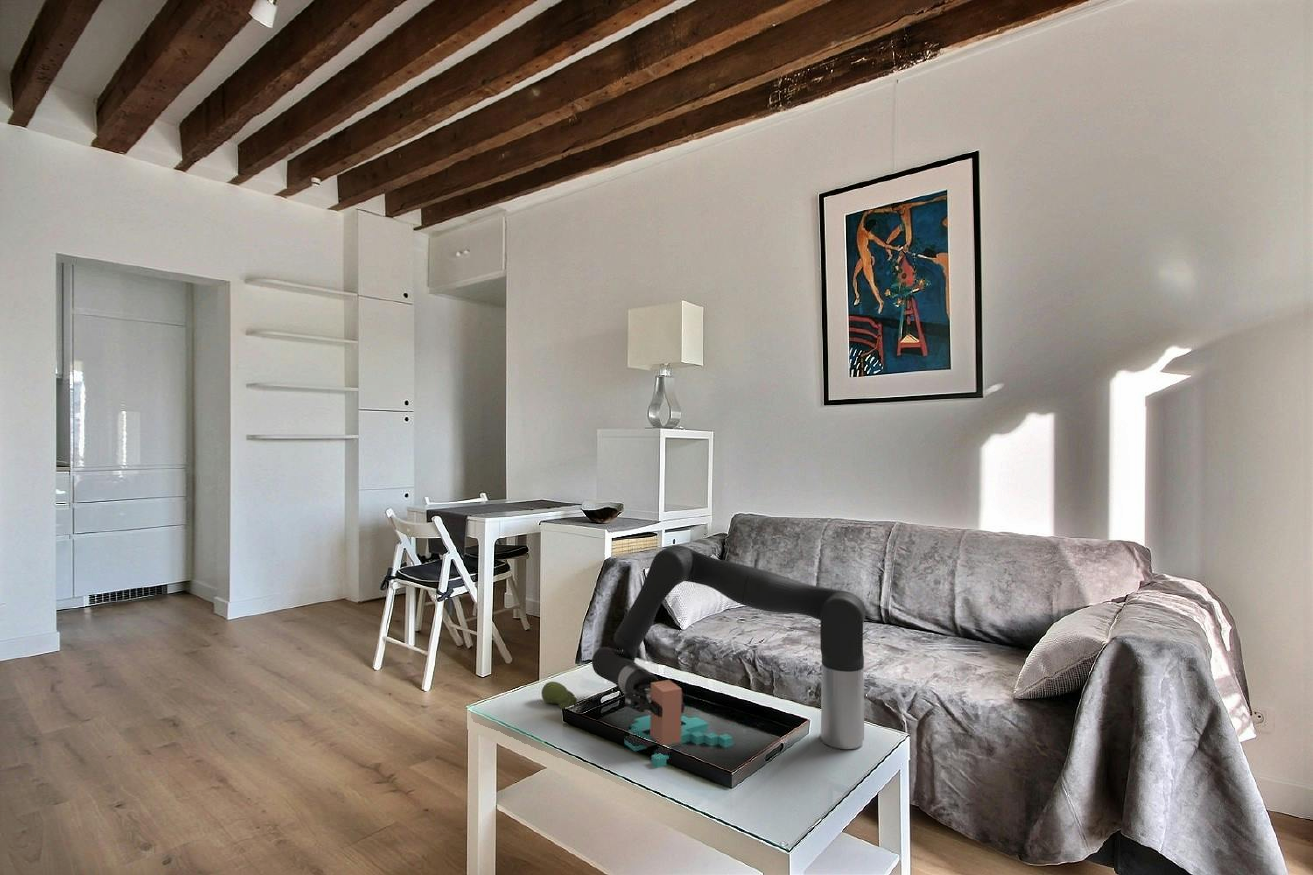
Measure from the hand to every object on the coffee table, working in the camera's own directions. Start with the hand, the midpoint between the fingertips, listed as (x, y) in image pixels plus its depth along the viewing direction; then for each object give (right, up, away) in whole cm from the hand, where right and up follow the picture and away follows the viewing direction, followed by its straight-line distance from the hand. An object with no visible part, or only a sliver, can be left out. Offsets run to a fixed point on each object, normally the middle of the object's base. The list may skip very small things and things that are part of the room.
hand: (671, 710), depth 150 cm
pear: (-28, -9, +27) cm, 40 cm away
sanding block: (-1, -7, +2) cm, 8 cm away
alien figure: (0, -10, +8) cm, 13 cm away
